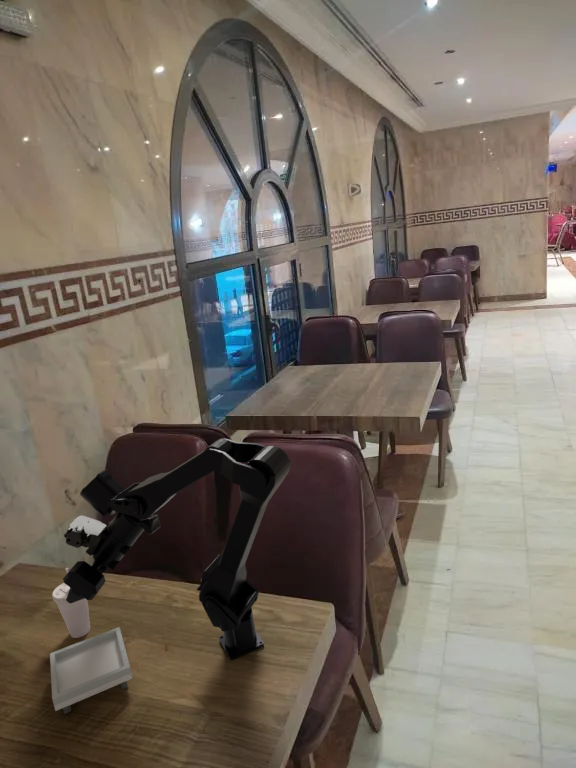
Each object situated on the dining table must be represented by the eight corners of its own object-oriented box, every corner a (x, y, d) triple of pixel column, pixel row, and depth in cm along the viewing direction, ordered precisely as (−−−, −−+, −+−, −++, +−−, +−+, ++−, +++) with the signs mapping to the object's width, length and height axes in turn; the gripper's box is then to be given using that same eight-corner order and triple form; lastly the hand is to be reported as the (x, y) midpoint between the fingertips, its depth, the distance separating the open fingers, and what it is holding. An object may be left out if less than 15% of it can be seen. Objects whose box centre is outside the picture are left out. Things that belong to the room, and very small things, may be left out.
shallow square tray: (135, 688, 90) (130, 667, 89) (58, 721, 85) (52, 699, 84) (124, 646, 100) (119, 626, 99) (55, 673, 96) (49, 653, 95)
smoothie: (85, 643, 103) (69, 578, 100) (56, 642, 104) (39, 578, 101) (103, 620, 109) (88, 559, 106) (75, 620, 110) (59, 559, 107)
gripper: (109, 484, 108) (71, 536, 113) (61, 531, 90) (17, 591, 95) (154, 517, 109) (114, 568, 113) (115, 570, 91) (68, 628, 95)
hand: (80, 586), depth 104 cm, fingers open, 9 cm apart
